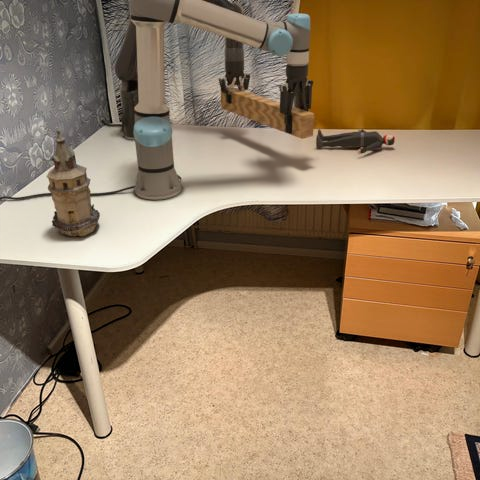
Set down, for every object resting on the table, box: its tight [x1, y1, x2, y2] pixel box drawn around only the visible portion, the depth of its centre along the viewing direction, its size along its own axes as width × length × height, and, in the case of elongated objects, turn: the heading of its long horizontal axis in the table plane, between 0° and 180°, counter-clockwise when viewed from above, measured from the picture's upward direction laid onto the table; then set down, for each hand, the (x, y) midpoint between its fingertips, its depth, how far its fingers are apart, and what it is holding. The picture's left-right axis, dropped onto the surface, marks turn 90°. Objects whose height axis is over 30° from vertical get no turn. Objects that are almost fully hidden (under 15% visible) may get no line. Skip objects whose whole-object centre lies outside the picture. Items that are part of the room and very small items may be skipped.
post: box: [220, 87, 315, 140], centre depth 202 cm, size 51×5×8 cm, turn 36°
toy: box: [315, 128, 396, 155], centre depth 211 cm, size 26×6×30 cm
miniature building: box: [46, 129, 101, 237], centre depth 148 cm, size 13×14×30 cm
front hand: (294, 131), depth 191 cm, fingers closed on post, 5 cm apart
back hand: (235, 102), depth 216 cm, fingers closed on post, 5 cm apart
